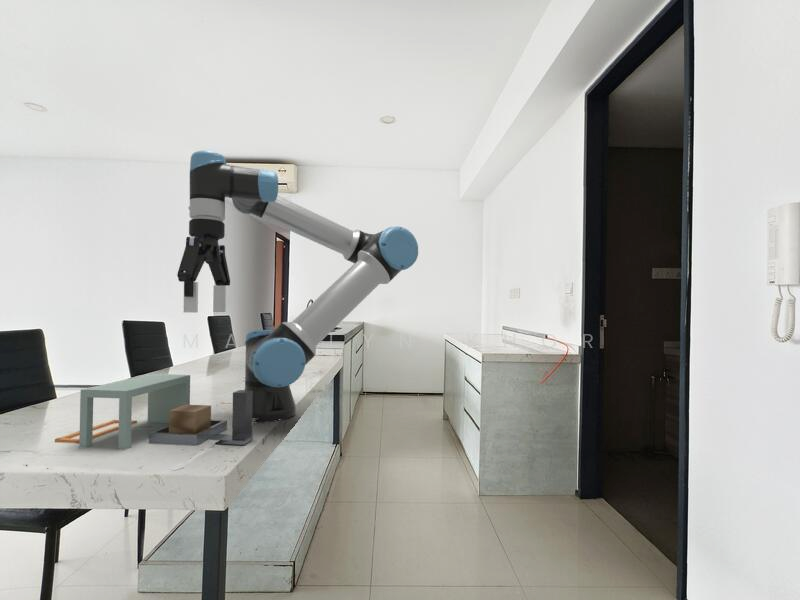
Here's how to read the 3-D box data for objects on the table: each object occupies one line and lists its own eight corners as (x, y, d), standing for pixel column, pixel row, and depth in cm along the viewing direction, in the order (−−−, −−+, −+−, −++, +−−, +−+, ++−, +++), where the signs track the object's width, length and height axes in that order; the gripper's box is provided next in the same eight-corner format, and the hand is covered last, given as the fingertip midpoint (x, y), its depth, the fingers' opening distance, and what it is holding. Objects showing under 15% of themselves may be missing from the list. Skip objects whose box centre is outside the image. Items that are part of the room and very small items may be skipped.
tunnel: (189, 426, 105) (190, 374, 106) (125, 454, 85) (126, 391, 85) (151, 424, 107) (152, 373, 107) (79, 452, 86) (80, 389, 86)
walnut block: (210, 432, 97) (211, 405, 97) (195, 440, 91) (195, 411, 91) (185, 431, 98) (186, 404, 98) (168, 439, 92) (169, 410, 92)
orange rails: (136, 426, 104) (137, 420, 104) (80, 447, 89) (80, 440, 89) (114, 425, 105) (114, 419, 105) (54, 446, 89) (54, 439, 89)
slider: (260, 433, 99) (261, 386, 99) (234, 451, 87) (235, 397, 87) (183, 430, 101) (184, 384, 101) (147, 446, 89) (148, 394, 89)
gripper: (216, 230, 112) (214, 311, 112) (159, 208, 87) (157, 312, 87) (244, 230, 112) (243, 311, 111) (195, 207, 87) (194, 312, 86)
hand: (205, 312), depth 99 cm, fingers open, 13 cm apart
